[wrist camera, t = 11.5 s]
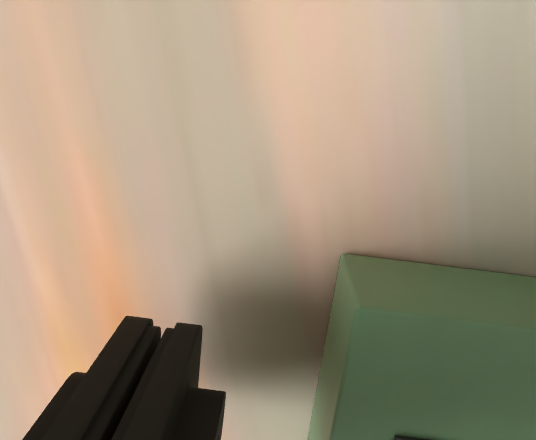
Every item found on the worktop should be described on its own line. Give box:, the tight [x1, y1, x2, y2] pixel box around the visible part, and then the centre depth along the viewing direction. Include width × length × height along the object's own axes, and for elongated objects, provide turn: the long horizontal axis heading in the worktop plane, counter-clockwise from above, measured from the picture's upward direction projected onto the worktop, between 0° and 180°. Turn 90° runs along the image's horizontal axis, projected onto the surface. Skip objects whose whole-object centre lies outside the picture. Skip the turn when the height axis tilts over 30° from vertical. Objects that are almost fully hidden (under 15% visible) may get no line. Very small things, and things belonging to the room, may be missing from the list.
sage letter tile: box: [308, 254, 536, 440], centre depth 10 cm, size 6×6×3 cm
